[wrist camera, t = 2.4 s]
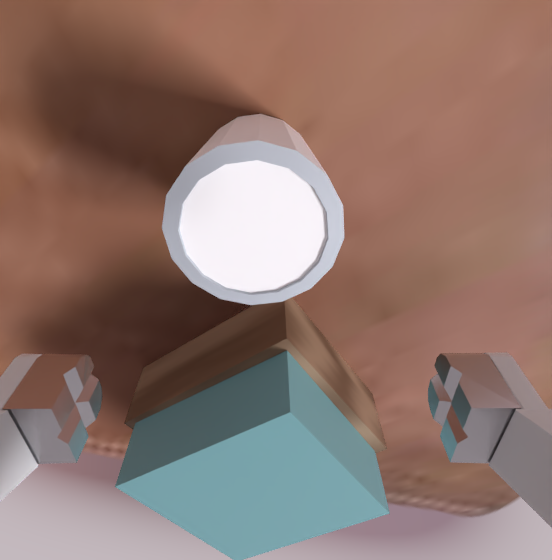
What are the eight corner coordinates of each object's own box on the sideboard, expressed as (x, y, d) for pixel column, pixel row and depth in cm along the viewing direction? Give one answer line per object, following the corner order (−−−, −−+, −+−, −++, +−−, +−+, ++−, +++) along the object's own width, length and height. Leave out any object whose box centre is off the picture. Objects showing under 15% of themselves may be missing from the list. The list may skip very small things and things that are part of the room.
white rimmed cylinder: (172, 199, 22) (138, 270, 16) (221, 71, 18) (200, 103, 13) (286, 248, 24) (292, 327, 18) (349, 140, 20) (382, 194, 14)
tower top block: (135, 423, 25) (115, 486, 22) (287, 350, 22) (290, 412, 19) (240, 500, 30) (236, 561, 27) (374, 451, 27) (389, 513, 24)
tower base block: (144, 363, 29) (124, 423, 25) (283, 284, 26) (286, 338, 21) (245, 445, 35) (242, 505, 31) (371, 389, 31) (387, 448, 27)
